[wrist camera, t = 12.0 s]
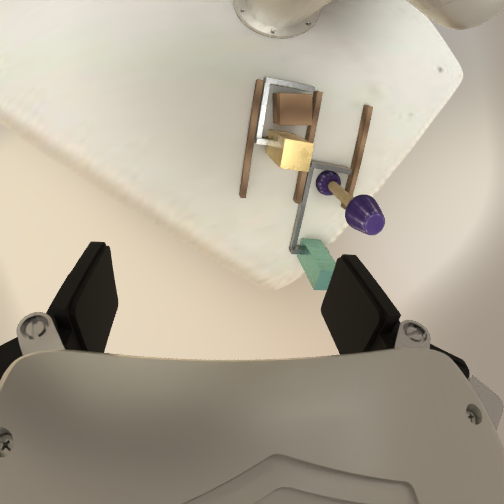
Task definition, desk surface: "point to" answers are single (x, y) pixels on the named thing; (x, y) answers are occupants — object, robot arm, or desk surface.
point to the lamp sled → (311, 250)
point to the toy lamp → (353, 204)
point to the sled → (284, 134)
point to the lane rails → (309, 136)
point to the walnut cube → (292, 109)
